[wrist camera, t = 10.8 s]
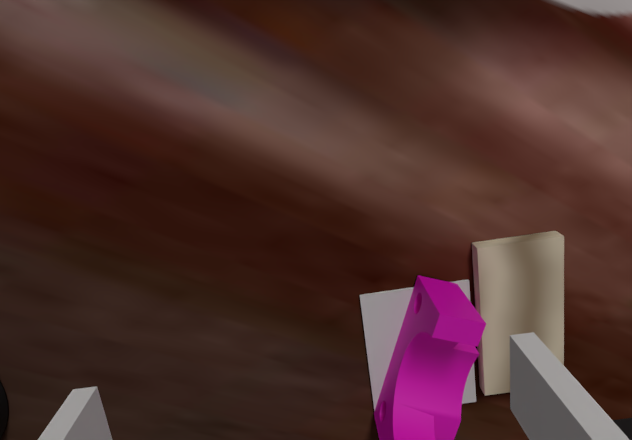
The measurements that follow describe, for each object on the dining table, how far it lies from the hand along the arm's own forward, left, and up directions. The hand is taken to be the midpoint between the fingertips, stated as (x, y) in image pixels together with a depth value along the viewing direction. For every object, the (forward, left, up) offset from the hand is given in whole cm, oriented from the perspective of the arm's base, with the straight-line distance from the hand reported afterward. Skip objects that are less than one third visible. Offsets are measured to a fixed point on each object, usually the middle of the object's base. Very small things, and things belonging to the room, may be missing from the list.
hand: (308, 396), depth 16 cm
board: (+18, -14, -28) cm, 36 cm away
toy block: (+9, -17, -28) cm, 34 cm away
